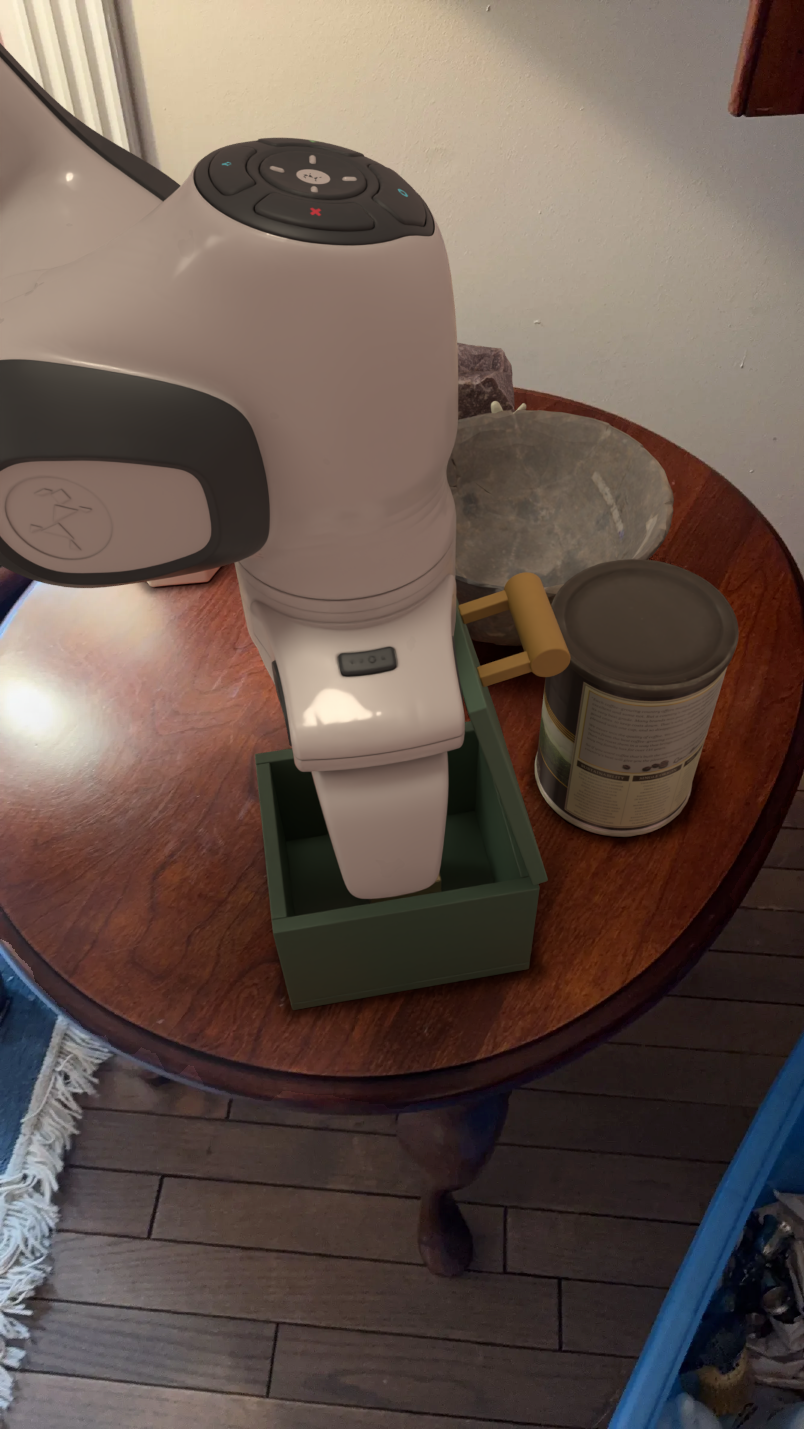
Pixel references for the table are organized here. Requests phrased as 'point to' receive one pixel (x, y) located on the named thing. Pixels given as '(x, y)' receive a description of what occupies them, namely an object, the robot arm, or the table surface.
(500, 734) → the lid
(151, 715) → the table surface
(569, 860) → the table surface
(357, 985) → the chest
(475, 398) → the rock
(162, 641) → the table surface
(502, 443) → the bowl
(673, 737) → the coffee can
